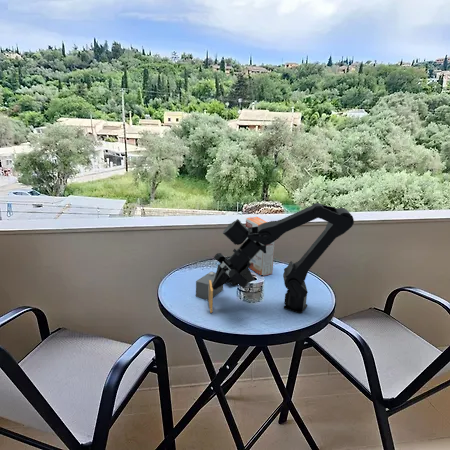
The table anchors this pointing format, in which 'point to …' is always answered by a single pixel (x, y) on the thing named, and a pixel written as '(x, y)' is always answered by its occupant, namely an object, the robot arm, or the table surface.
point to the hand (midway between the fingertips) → (212, 288)
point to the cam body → (206, 286)
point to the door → (210, 295)
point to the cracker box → (261, 260)
